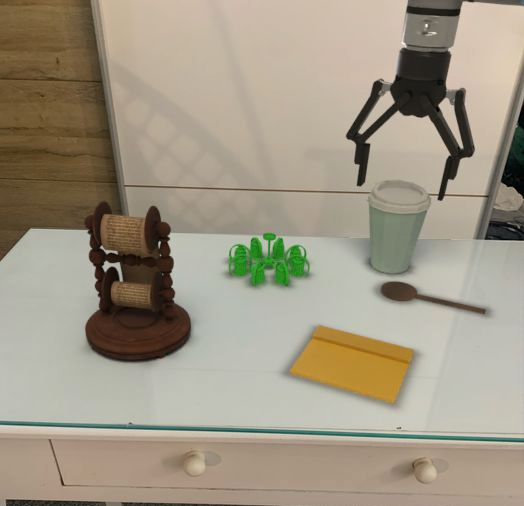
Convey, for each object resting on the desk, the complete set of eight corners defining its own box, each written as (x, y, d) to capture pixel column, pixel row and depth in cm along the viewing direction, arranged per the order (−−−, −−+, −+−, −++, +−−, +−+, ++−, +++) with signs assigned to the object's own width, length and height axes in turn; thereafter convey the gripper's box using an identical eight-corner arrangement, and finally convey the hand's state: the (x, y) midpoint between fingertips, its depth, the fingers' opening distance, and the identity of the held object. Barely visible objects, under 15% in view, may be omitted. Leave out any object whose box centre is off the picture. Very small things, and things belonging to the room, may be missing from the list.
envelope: (412, 357, 79) (414, 347, 78) (392, 407, 70) (395, 396, 68) (319, 333, 83) (320, 323, 82) (289, 377, 74) (290, 366, 73)
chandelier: (295, 299, 91) (298, 260, 87) (212, 281, 95) (211, 244, 91) (319, 262, 103) (323, 227, 99) (244, 248, 107) (245, 213, 103)
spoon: (486, 307, 91) (488, 300, 90) (482, 324, 87) (484, 318, 86) (384, 284, 97) (385, 278, 96) (375, 299, 92) (376, 293, 91)
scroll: (202, 317, 86) (197, 190, 74) (174, 374, 74) (163, 233, 62) (111, 307, 88) (93, 181, 76) (69, 360, 76) (40, 221, 64)
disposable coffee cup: (429, 277, 99) (447, 195, 91) (377, 287, 96) (392, 202, 87) (395, 253, 107) (409, 176, 99) (347, 261, 104) (357, 182, 95)
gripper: (336, 42, 82) (322, 184, 94) (514, 59, 74) (473, 211, 86) (351, 38, 88) (336, 172, 100) (517, 53, 80) (479, 197, 92)
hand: (399, 191), depth 93 cm, fingers open, 13 cm apart
